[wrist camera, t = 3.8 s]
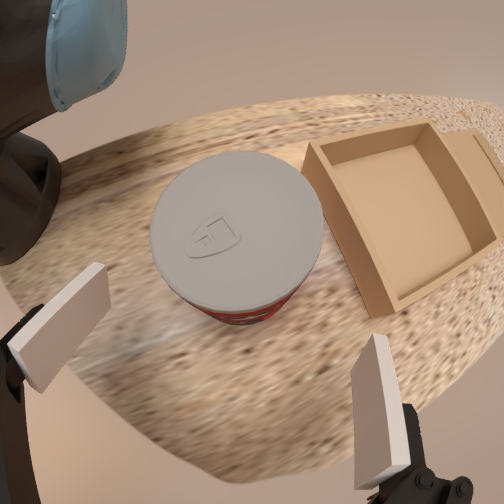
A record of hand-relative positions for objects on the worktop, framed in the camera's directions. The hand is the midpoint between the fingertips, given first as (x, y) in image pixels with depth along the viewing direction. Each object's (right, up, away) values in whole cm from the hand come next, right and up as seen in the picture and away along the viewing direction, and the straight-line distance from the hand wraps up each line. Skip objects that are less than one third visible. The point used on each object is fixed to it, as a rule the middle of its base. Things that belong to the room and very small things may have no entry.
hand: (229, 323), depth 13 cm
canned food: (0, +1, +10) cm, 10 cm away
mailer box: (+21, +9, +12) cm, 26 cm away
